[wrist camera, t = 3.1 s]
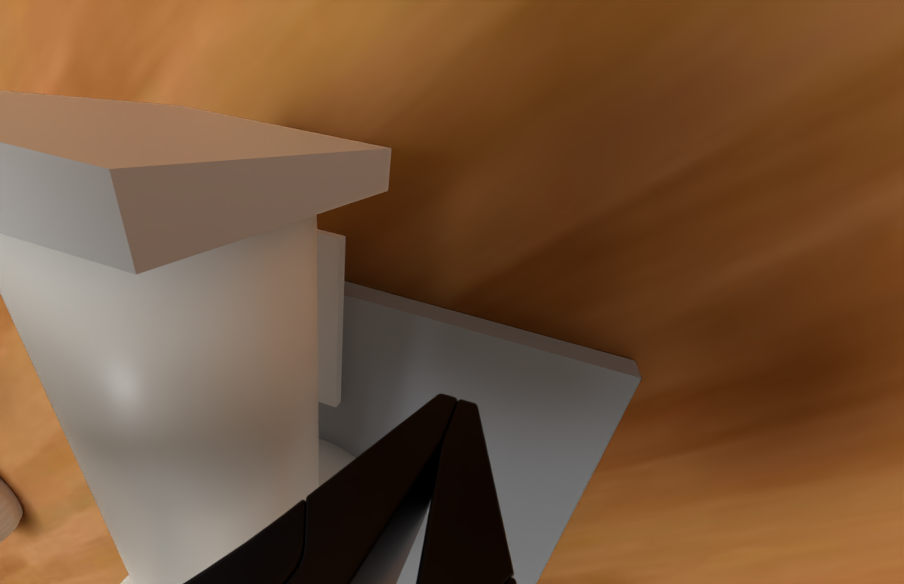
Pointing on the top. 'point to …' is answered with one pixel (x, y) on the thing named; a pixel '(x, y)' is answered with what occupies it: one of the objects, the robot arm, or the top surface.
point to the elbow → (174, 308)
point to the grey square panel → (473, 379)
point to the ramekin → (8, 511)
